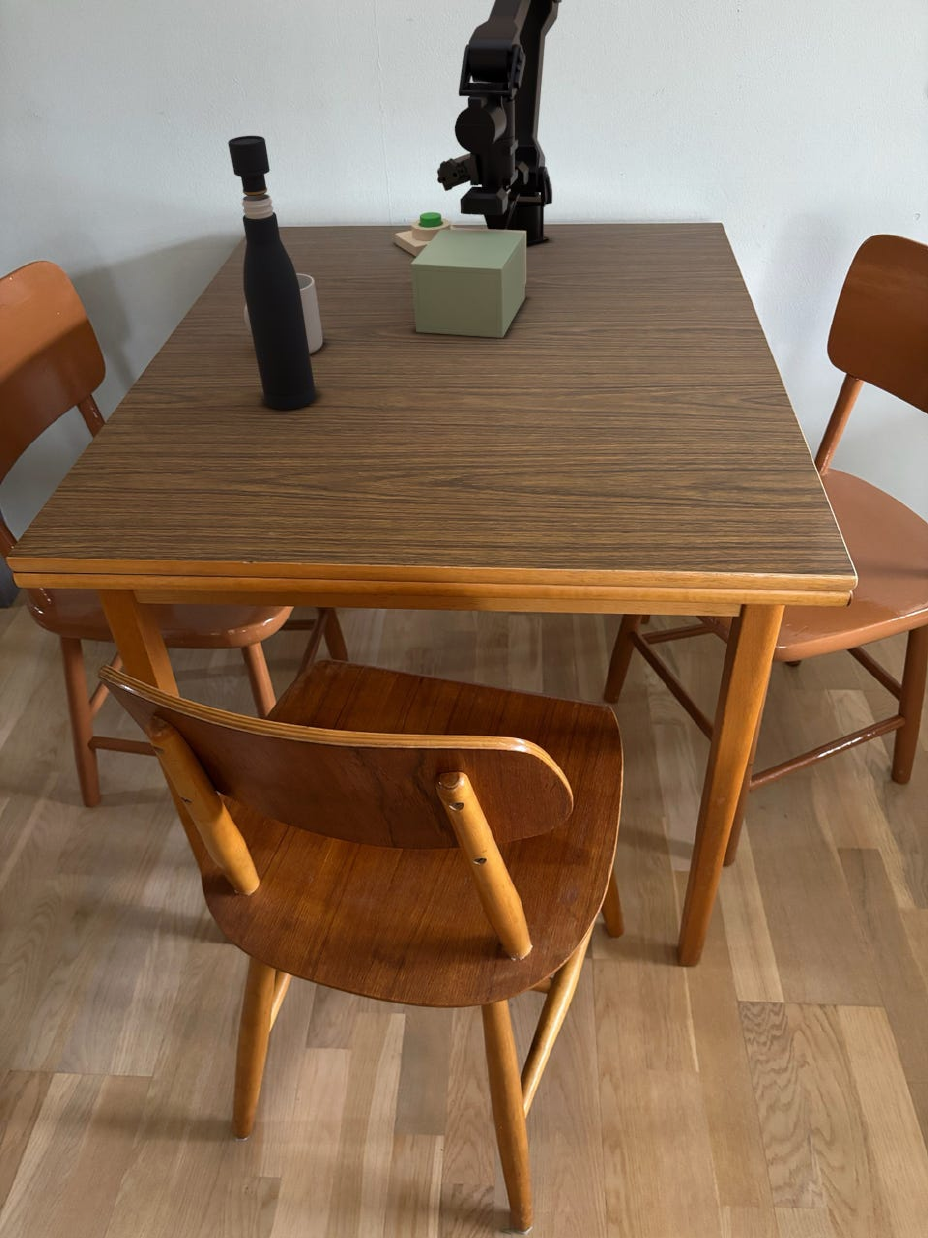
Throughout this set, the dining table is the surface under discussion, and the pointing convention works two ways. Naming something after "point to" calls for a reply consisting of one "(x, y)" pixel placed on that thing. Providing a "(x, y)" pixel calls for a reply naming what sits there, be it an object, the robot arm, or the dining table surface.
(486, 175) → the robot arm
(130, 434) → the dining table surface
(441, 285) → the sage green box
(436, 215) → the button
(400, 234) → the control block
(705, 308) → the dining table surface
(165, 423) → the dining table surface
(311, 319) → the cup
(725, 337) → the dining table surface
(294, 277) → the black insulated water bottle
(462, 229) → the drawer
